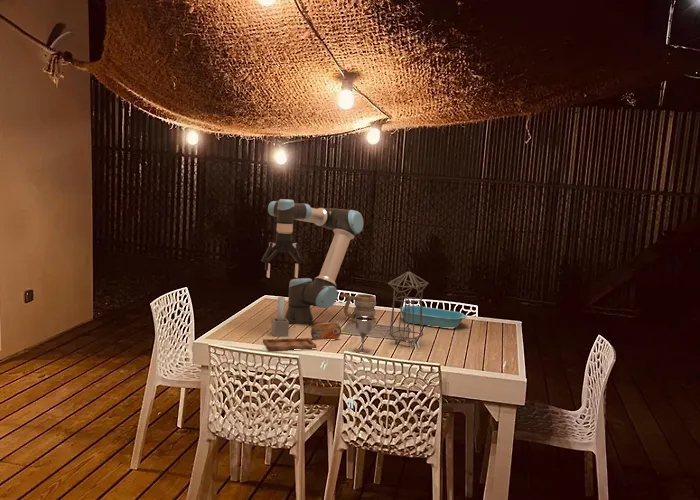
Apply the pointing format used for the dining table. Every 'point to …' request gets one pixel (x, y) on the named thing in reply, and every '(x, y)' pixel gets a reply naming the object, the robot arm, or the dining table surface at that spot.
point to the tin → (325, 331)
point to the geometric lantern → (409, 305)
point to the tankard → (360, 306)
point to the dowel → (280, 309)
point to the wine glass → (363, 330)
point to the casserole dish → (433, 316)
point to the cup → (280, 328)
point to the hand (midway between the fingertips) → (282, 277)
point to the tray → (288, 344)
